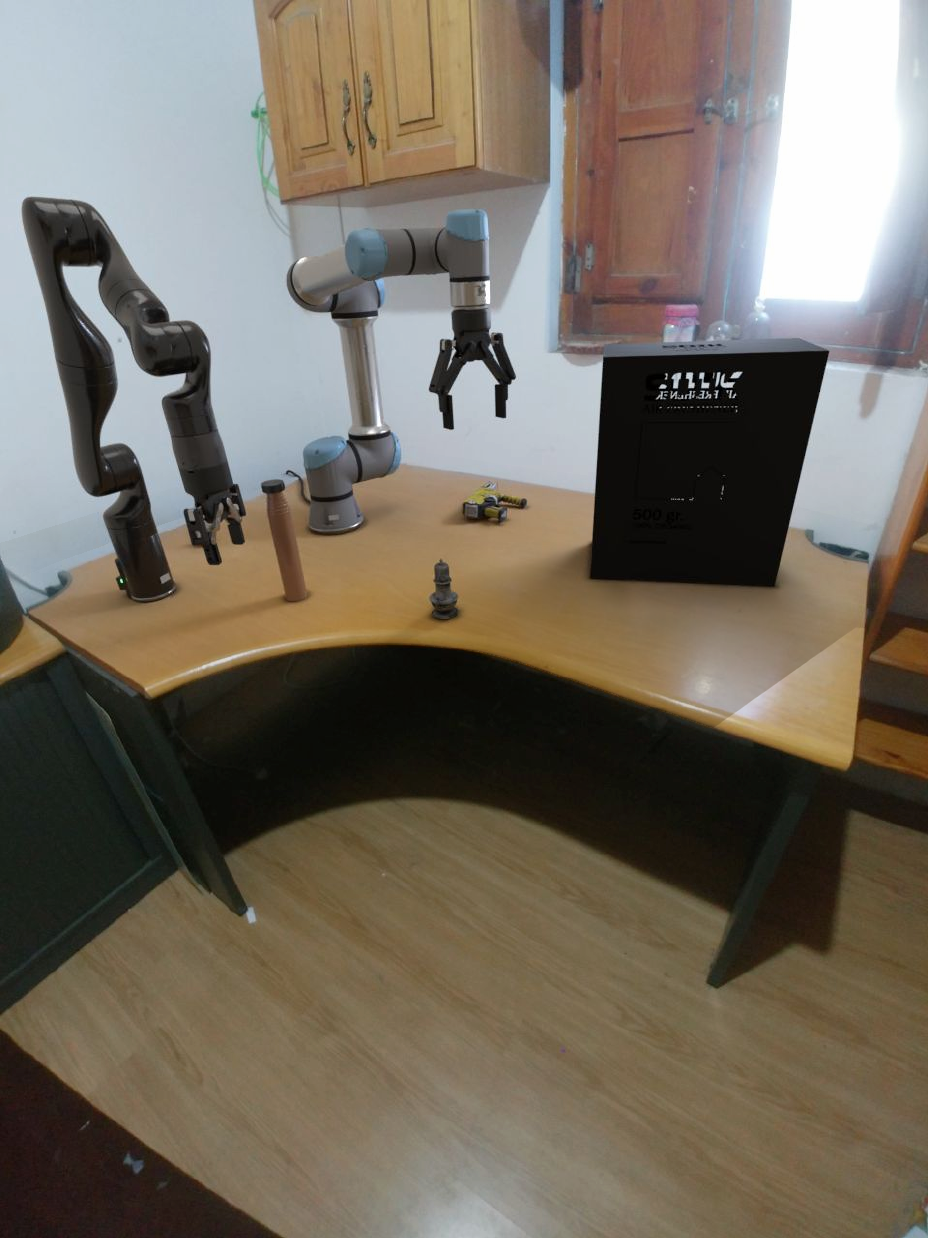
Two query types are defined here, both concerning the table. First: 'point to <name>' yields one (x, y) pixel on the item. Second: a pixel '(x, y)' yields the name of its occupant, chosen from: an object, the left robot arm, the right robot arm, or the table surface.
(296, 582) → the bottle
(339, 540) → the table surface
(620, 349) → the cardboard box
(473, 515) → the toy gun
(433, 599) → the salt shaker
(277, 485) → the cap
